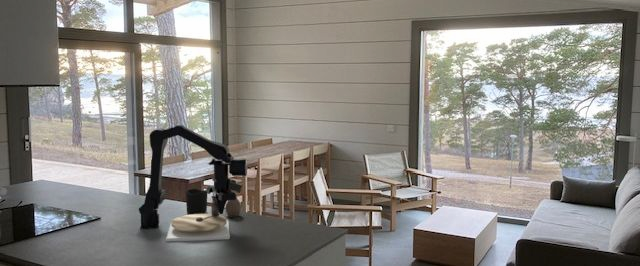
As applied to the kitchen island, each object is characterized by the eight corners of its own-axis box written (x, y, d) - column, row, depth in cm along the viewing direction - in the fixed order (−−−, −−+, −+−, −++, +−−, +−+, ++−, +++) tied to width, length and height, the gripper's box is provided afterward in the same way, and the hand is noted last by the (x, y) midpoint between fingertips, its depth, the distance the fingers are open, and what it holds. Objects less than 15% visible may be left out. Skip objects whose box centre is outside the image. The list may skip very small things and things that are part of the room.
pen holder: (203, 209, 241) (203, 187, 240) (210, 213, 233) (210, 191, 232) (183, 211, 236) (183, 189, 235) (190, 216, 228) (189, 193, 227)
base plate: (166, 241, 192) (166, 238, 192) (171, 224, 214) (171, 221, 214) (229, 239, 196) (229, 235, 196) (228, 222, 219) (228, 219, 219)
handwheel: (201, 238, 191) (201, 217, 190) (159, 230, 201) (159, 209, 200) (238, 225, 210) (238, 205, 209) (198, 217, 220) (198, 199, 219)
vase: (238, 218, 226) (238, 198, 225) (223, 217, 227) (223, 197, 226) (243, 214, 232) (243, 195, 231) (229, 213, 234) (228, 194, 233)
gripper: (248, 177, 205) (248, 216, 207) (231, 171, 221) (231, 207, 223) (221, 179, 200) (222, 219, 201) (206, 173, 216) (206, 210, 217)
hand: (221, 214), depth 211 cm, fingers closed
